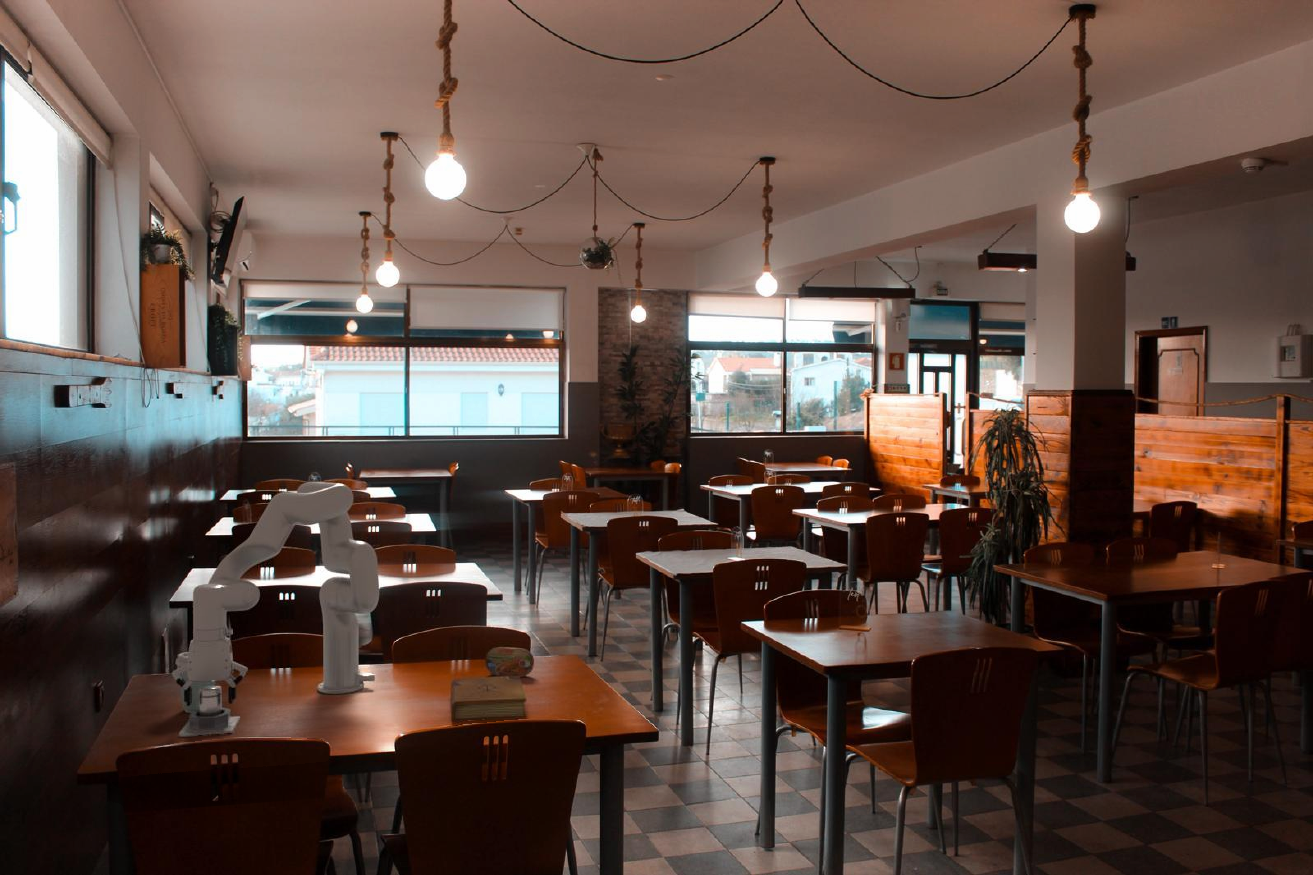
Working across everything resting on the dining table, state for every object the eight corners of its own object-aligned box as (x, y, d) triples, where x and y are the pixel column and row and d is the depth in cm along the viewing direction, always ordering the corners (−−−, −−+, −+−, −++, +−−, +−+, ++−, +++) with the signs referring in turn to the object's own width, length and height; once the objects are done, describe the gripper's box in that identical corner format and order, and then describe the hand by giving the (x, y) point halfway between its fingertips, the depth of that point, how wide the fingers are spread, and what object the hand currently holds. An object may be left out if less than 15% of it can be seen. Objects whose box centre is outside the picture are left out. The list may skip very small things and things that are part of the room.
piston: (223, 720, 260) (223, 685, 259) (219, 726, 255) (219, 690, 255) (201, 722, 259) (201, 686, 258) (197, 728, 254) (197, 691, 253)
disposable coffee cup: (207, 702, 279) (207, 646, 279) (228, 709, 272) (227, 652, 272) (168, 710, 271) (168, 653, 271) (188, 718, 264) (187, 660, 264)
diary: (450, 699, 285) (450, 678, 285) (519, 696, 289) (519, 675, 289) (451, 723, 263) (451, 700, 263) (525, 719, 267) (526, 697, 267)
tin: (484, 674, 310) (484, 646, 310) (489, 672, 313) (489, 644, 313) (531, 678, 306) (531, 650, 305) (535, 676, 309) (535, 648, 308)
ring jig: (240, 719, 264) (240, 704, 264) (232, 733, 252) (232, 718, 252) (189, 722, 261) (189, 707, 261) (178, 737, 249) (178, 721, 249)
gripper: (249, 630, 262) (249, 697, 262) (175, 633, 258) (175, 701, 258) (244, 636, 254) (245, 705, 255) (168, 639, 250) (169, 709, 251)
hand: (210, 703), depth 256 cm, fingers open, 9 cm apart
